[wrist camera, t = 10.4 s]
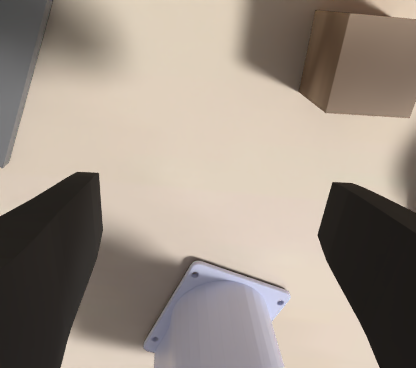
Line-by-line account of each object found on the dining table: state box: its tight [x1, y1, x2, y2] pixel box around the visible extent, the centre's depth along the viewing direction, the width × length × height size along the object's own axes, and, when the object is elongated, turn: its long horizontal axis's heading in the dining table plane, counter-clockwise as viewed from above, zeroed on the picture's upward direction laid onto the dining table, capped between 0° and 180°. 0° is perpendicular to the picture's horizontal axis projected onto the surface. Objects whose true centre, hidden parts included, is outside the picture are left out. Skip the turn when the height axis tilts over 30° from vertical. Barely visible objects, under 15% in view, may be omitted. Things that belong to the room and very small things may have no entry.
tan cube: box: [299, 10, 416, 118], centre depth 16 cm, size 4×4×4 cm
